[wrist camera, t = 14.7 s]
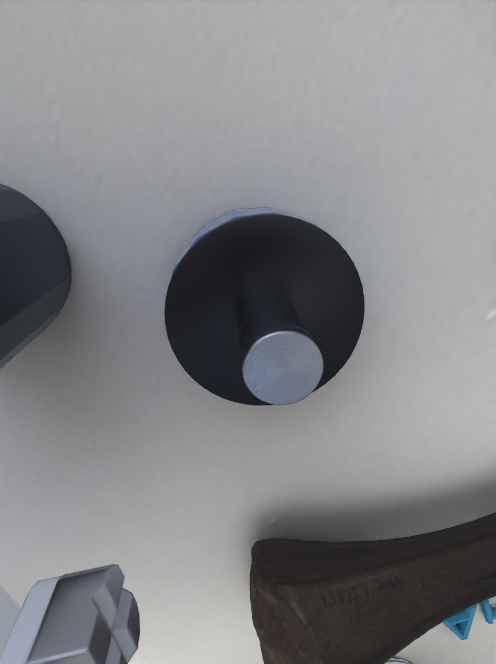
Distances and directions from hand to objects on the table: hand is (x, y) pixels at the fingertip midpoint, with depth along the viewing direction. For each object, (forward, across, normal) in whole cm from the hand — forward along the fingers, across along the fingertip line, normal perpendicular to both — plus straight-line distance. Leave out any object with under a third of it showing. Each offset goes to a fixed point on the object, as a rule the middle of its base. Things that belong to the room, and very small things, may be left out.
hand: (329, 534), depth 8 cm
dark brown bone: (+18, -8, +20) cm, 29 cm away
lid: (+14, 0, 0) cm, 14 cm away
